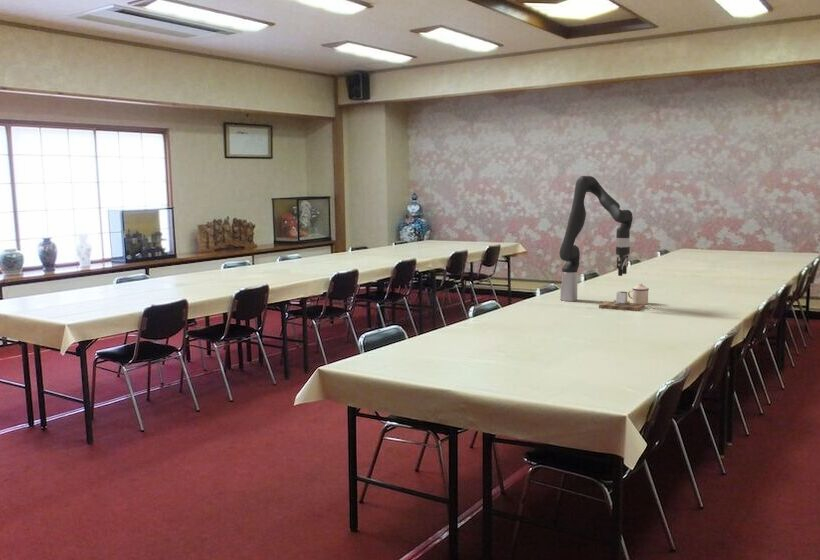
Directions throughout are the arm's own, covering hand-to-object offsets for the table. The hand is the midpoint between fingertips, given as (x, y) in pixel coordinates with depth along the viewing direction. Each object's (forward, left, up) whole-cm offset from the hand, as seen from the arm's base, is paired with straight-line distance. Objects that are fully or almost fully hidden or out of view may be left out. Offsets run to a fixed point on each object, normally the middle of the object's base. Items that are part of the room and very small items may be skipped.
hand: (622, 274), depth 412 cm
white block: (0, 0, -16) cm, 16 cm away
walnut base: (0, 0, -19) cm, 19 cm away
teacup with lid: (+4, +19, -19) cm, 27 cm away
